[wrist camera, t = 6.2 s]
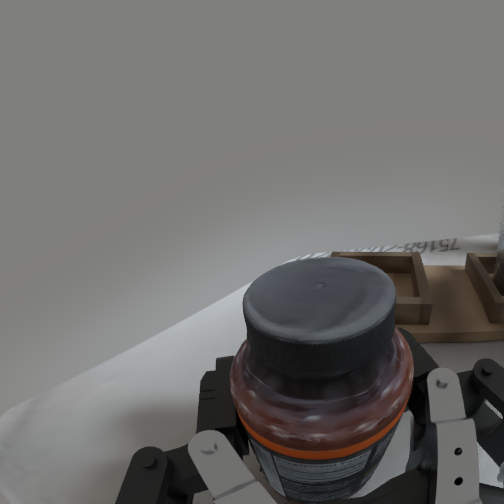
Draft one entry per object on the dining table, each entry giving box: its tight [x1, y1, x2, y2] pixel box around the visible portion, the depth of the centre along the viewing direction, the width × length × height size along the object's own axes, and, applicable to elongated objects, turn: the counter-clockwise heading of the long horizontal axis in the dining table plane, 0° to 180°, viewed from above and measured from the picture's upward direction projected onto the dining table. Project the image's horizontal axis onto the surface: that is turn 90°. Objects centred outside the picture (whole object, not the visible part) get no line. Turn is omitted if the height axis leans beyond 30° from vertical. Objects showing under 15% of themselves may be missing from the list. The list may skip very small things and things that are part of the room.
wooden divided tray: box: [330, 252, 504, 343], centre depth 20 cm, size 30×12×3 cm, turn 65°
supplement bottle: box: [229, 257, 414, 504], centre depth 9 cm, size 6×6×11 cm
